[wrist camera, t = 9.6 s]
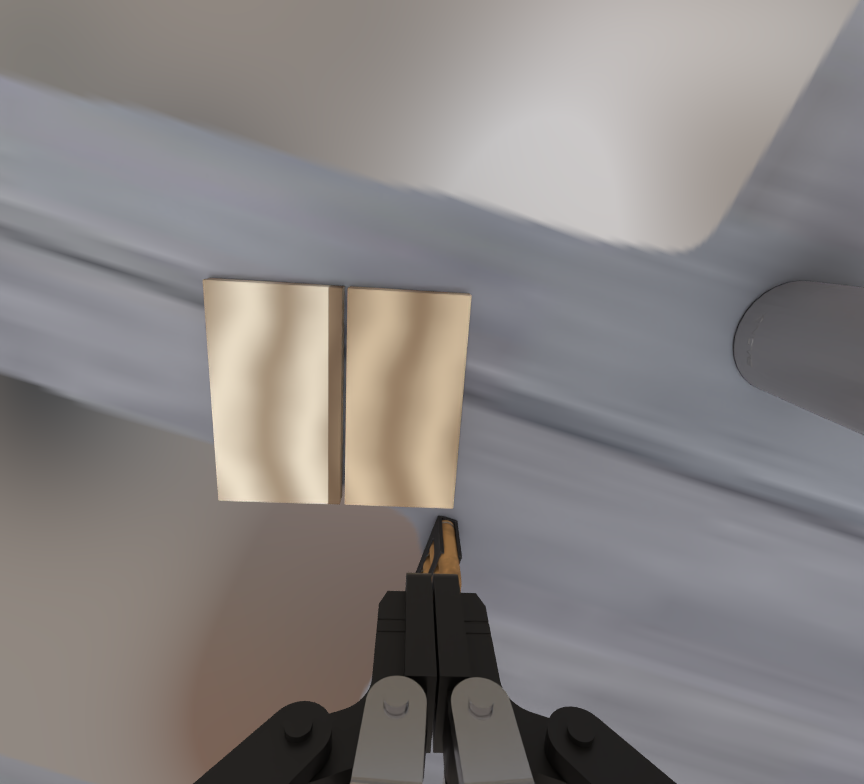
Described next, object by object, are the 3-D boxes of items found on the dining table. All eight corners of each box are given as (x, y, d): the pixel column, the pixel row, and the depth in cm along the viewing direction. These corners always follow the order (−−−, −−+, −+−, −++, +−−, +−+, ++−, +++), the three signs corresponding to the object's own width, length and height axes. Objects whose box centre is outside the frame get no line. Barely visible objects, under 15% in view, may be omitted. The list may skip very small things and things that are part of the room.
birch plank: (344, 285, 38) (342, 288, 37) (342, 495, 43) (340, 504, 42) (210, 278, 37) (202, 279, 36) (224, 491, 43) (218, 500, 41)
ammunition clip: (438, 514, 44) (447, 611, 33) (457, 520, 45) (473, 618, 33) (401, 608, 47) (397, 728, 36) (419, 613, 47) (422, 733, 36)
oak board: (469, 293, 39) (471, 295, 37) (451, 499, 44) (453, 508, 42) (350, 286, 38) (347, 288, 37) (347, 495, 43) (344, 504, 42)
